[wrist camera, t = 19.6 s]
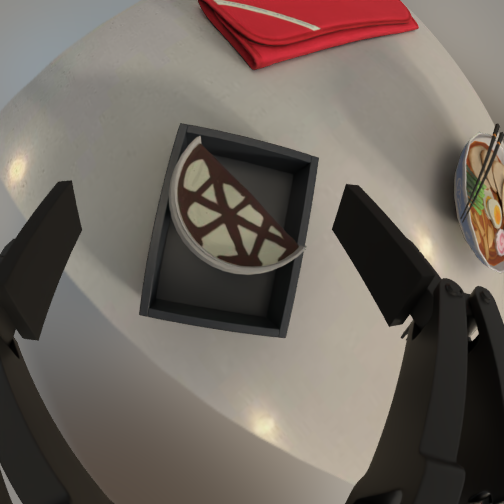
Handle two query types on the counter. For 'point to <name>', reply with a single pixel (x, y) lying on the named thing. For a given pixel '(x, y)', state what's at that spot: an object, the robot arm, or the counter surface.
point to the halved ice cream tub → (224, 217)
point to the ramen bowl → (482, 197)
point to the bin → (215, 280)
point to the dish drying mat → (302, 25)
